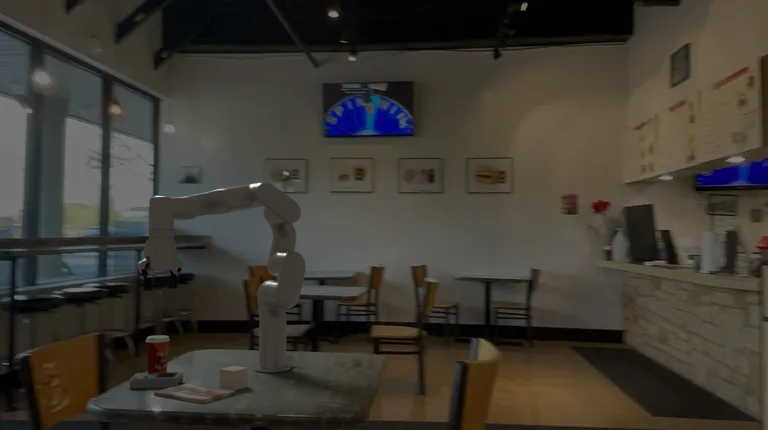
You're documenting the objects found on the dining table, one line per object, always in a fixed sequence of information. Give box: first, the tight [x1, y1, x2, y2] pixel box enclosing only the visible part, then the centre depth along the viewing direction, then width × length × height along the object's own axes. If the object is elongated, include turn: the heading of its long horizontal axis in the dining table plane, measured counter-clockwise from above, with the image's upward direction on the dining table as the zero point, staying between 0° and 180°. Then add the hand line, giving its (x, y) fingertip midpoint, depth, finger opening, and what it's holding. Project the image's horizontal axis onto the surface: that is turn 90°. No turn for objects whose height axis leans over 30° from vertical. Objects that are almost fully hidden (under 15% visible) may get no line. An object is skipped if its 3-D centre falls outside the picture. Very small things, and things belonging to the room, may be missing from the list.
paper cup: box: [145, 334, 171, 373], centre depth 211 cm, size 8×8×14 cm
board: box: [153, 383, 237, 405], centre depth 189 cm, size 13×20×1 cm, turn 60°
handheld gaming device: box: [129, 371, 184, 390], centre depth 202 cm, size 9×15×4 cm, turn 96°
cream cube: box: [219, 365, 249, 391], centre depth 199 cm, size 6×6×6 cm
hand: (160, 289), depth 201 cm, fingers open, 9 cm apart
